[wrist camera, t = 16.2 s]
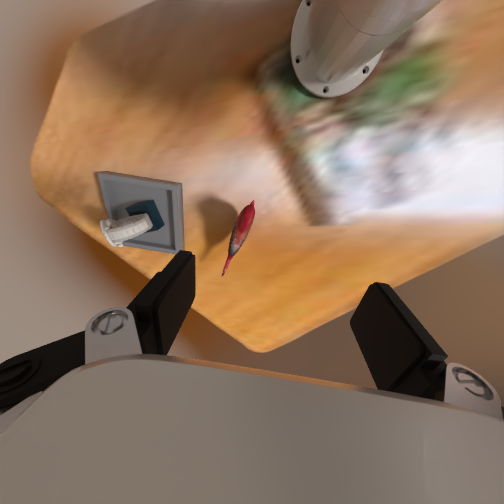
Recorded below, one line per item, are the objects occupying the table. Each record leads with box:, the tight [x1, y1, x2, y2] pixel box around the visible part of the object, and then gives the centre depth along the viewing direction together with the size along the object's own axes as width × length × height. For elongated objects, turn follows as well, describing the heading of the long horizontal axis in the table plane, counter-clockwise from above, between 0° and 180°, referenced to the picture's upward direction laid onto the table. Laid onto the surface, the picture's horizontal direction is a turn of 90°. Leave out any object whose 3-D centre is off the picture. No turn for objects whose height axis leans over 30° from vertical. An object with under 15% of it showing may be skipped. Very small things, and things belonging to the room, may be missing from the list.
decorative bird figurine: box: [222, 200, 255, 276], centre depth 38 cm, size 3×18×10 cm, turn 158°
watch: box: [100, 200, 165, 247], centre depth 37 cm, size 6×8×11 cm
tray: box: [97, 171, 184, 254], centre depth 41 cm, size 15×15×2 cm
